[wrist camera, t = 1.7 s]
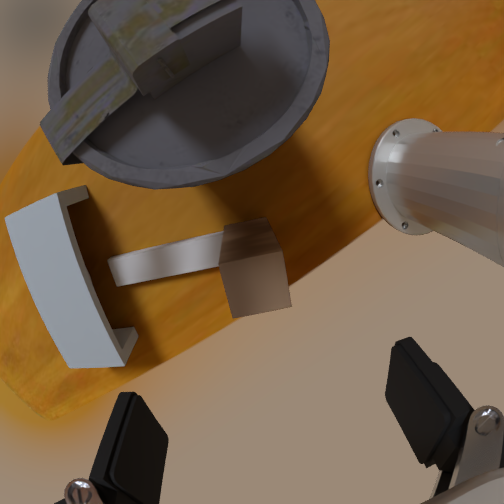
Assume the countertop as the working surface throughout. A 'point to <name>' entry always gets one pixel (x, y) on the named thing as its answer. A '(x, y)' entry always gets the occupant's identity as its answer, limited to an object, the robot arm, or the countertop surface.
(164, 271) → the pusher
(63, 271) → the shelf
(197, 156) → the canister
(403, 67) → the countertop surface
